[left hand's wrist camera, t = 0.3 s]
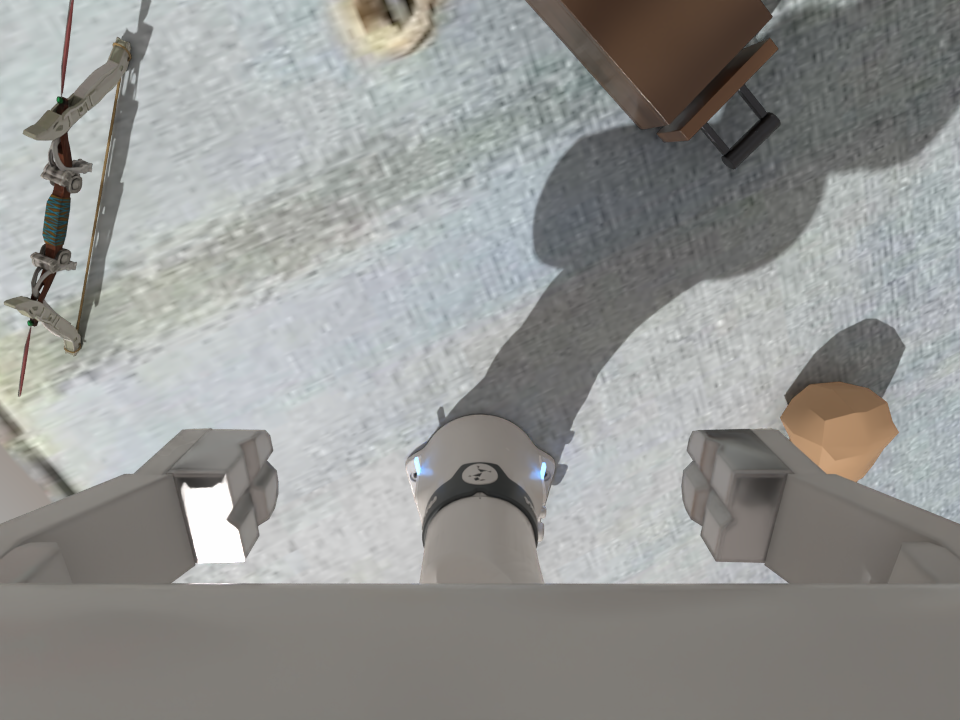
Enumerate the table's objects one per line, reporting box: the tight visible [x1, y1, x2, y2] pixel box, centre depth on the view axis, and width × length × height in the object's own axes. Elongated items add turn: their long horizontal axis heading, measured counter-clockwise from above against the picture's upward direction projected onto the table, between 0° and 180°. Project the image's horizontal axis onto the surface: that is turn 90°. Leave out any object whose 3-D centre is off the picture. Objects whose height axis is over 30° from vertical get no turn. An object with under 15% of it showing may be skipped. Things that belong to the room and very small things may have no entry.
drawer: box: [657, 38, 781, 170], centre depth 45 cm, size 24×10×6 cm, turn 48°
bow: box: [4, 0, 131, 397], centre depth 50 cm, size 39×2×10 cm, turn 156°
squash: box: [780, 382, 899, 483], centre depth 61 cm, size 11×20×9 cm, turn 19°
